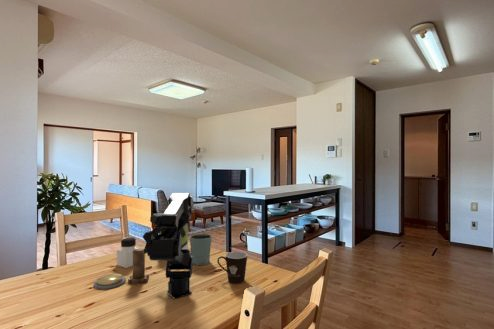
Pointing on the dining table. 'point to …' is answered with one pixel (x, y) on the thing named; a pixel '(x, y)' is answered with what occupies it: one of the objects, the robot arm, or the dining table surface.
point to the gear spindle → (138, 268)
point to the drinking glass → (200, 248)
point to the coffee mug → (235, 266)
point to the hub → (109, 279)
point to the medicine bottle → (126, 252)
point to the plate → (109, 285)
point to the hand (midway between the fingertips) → (153, 249)
